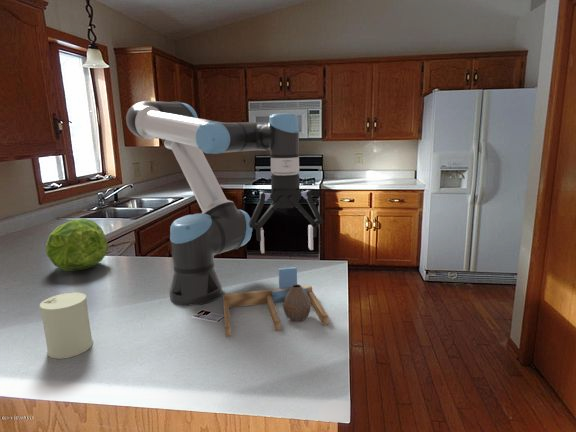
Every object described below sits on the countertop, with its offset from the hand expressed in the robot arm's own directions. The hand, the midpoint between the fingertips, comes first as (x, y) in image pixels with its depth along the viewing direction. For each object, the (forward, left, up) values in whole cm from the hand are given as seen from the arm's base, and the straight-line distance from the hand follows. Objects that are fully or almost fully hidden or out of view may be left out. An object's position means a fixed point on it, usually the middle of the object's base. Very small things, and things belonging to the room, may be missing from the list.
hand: (286, 250), depth 111 cm
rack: (-6, -9, -14) cm, 18 cm away
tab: (0, +1, -11) cm, 11 cm away
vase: (0, -12, -15) cm, 19 cm away
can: (-53, -14, -15) cm, 57 cm away
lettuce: (-70, +46, -15) cm, 85 cm away
